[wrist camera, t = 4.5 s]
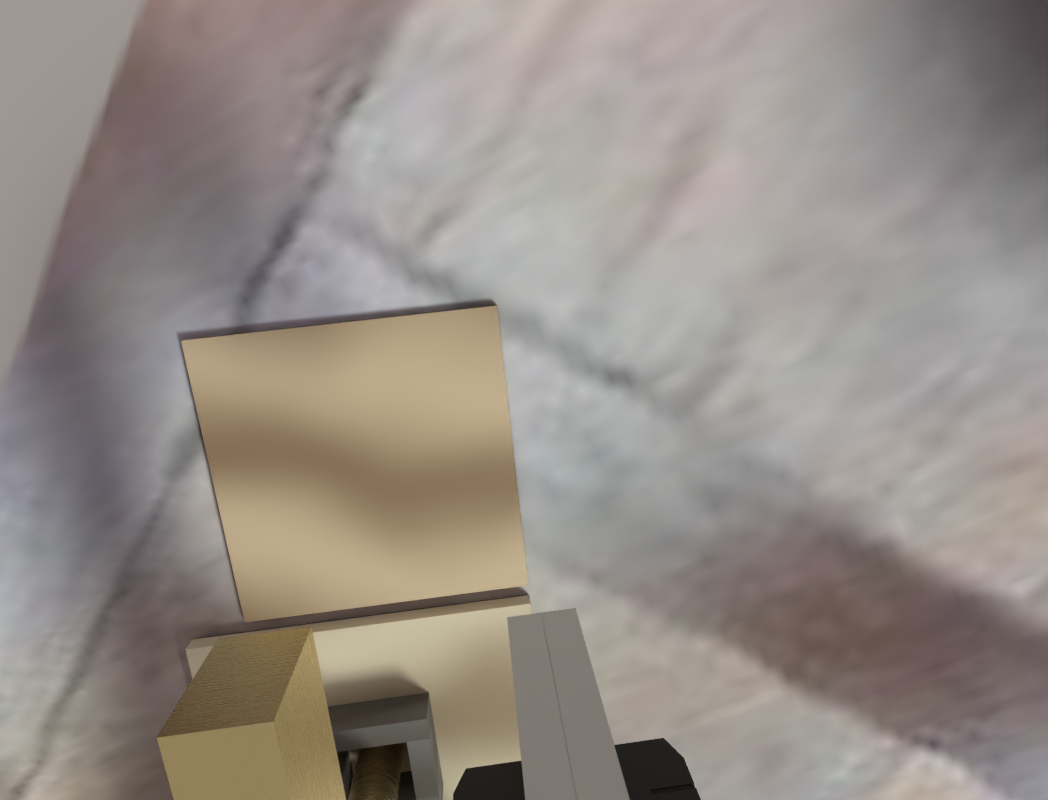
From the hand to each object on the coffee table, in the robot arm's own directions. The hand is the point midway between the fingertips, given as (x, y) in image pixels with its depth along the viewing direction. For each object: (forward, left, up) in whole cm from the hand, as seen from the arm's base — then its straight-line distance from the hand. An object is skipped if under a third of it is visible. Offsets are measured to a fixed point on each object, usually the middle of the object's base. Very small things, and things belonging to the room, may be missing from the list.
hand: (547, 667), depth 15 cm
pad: (-2, -5, -9) cm, 11 cm away
